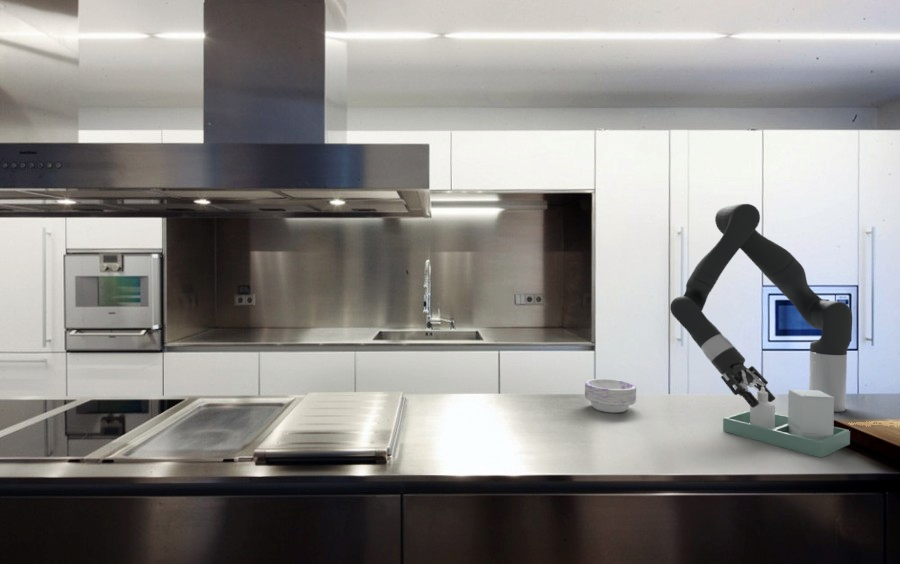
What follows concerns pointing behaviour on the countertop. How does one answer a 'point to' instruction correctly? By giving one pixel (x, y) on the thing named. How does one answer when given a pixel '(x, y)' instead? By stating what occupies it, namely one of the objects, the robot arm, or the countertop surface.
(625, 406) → the paper bowls
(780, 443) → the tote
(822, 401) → the supplement box
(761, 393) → the eye dropper bottle
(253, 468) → the countertop surface
